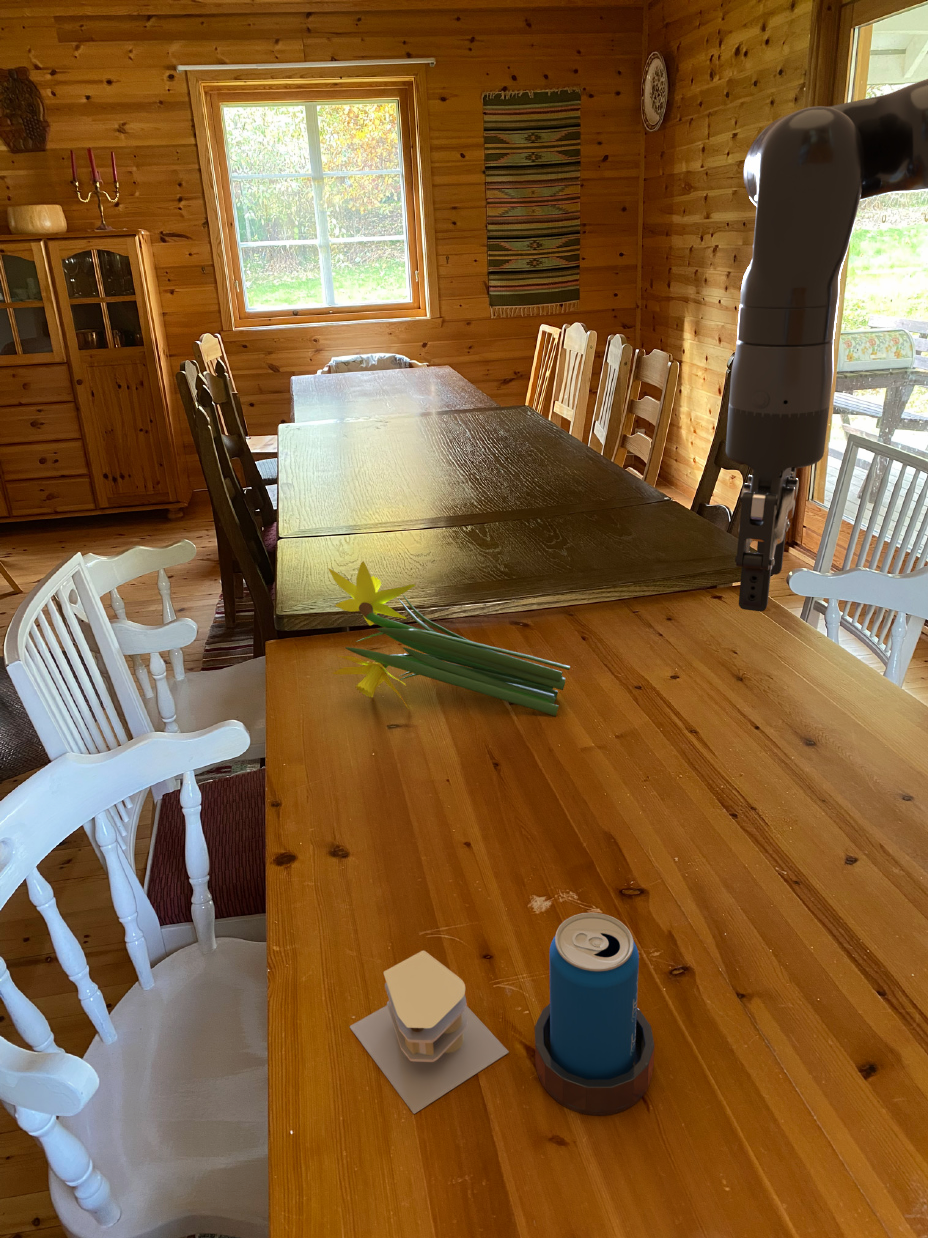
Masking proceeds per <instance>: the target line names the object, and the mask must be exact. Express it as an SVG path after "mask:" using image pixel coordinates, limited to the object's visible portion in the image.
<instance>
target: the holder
mask: <svg viewBox="0 0 928 1238" xmlns="http://www.w3.org/2000/svg"><path fill="white" fill-rule="evenodd" d="M653 1034H654V1033H653V1028H652V1026H651V1024H650V1022H649V1021H648V1020H647V1018H646V1017H645V1015H644V1014H643V1012H642V1011H641V1009H639V1008H638V1007H637V1014H636V1037H635V1057H634V1062H633V1065H632V1067H631V1069H630V1071H629V1072H628V1073H625V1074H622V1075H620V1076H617V1077H614V1078H612V1079H609V1080H596V1079H585V1078H582V1077H579V1076H576V1075H573V1074H570V1073H568V1072H567V1071H566V1070H564V1069H563V1068H562V1067H561V1066H559V1065H558V1064H557V1063H556V1062H555V1061H553V1059H552V1055H551V1048H550V1003H548V1004H547V1005H546V1006H545V1007H544V1008H542V1010H541V1012H540V1014H539V1017H538V1019H537V1020H536V1023H535V1025H534V1058H535V1061H534V1062H535V1070H536V1074H537V1076H538V1077H537V1078H538V1079H539V1082H540V1084H541V1085H542V1087H543V1089H544V1090H545V1091H546V1092H547V1094H548V1095H549V1096H551V1098H552V1099H553V1100H554V1101H556V1102H557V1103H558V1104H560V1105H562V1106H563V1107H564V1108H567V1109H569V1110H570V1111H574V1112H576V1113H578V1114H579V1113H580V1114H584V1115H589V1116H599V1117H600V1116H609V1115H615V1114H618V1113H621V1112H623V1111H626V1110H628V1109H630V1108H632V1107H633V1106H634V1105H636V1104H637V1103H638V1102H639V1101H640V1100H641V1099H642V1098H643V1096H645V1094H646V1093H647V1091H648V1089H649V1086H650V1084H651V1082H652V1076H653V1072H654V1064H655V1063H654V1061H655V1047H656V1046H655V1039H654V1035H653Z"/></svg>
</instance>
